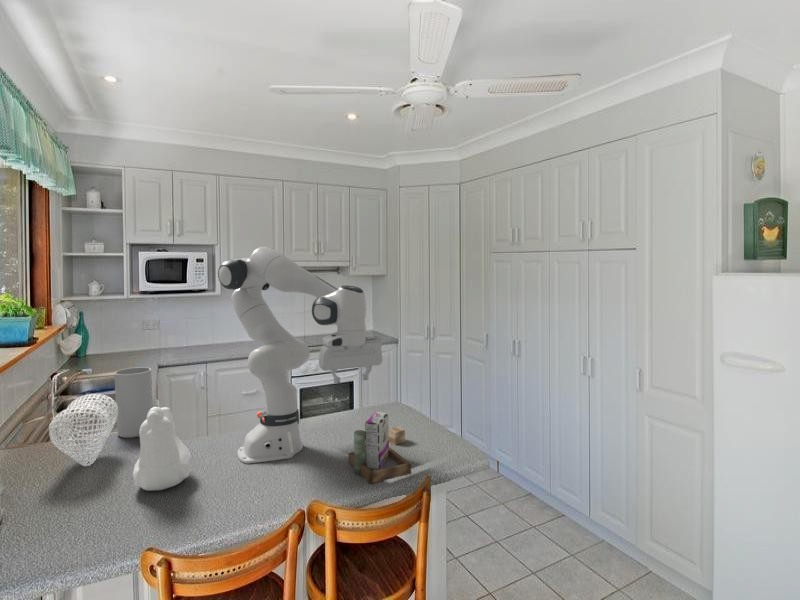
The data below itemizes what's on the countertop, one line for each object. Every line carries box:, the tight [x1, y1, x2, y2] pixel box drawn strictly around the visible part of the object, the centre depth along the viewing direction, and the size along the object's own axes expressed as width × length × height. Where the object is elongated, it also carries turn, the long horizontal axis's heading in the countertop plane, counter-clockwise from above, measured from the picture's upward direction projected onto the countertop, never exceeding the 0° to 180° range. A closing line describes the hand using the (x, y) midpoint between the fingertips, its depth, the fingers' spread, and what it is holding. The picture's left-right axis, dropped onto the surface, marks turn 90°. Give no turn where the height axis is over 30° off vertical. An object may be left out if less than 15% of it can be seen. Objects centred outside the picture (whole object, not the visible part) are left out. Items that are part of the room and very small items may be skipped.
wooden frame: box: [347, 429, 412, 484], centre depth 148 cm, size 16×17×13 cm
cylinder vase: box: [113, 366, 154, 439], centre depth 181 cm, size 12×12×25 cm
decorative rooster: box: [132, 406, 192, 491], centre depth 141 cm, size 25×16×25 cm, turn 5°
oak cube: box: [388, 426, 406, 446], centre depth 167 cm, size 4×4×4 cm
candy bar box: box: [364, 411, 390, 472], centre depth 150 cm, size 11×5×16 cm, turn 166°
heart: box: [48, 393, 118, 467], centre depth 151 cm, size 28×16×22 cm, turn 20°
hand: (351, 381), depth 144 cm, fingers open, 8 cm apart
